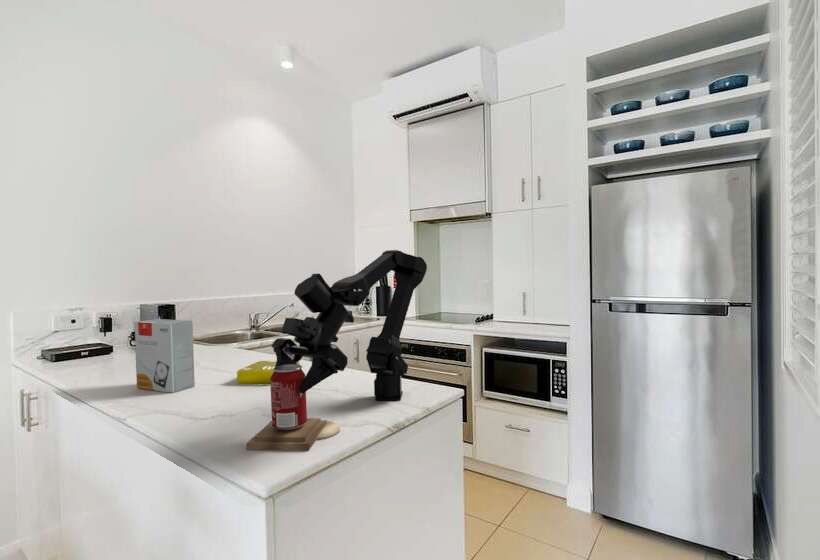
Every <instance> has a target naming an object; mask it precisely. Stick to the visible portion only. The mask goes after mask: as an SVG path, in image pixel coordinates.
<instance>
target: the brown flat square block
mask: <svg viewBox="0 0 820 560" xmlns="http://www.w3.org/2000/svg"><path fill="white" fill-rule="evenodd" d="M327 421H328V419H327V420H326V419H323V420H322V418H321V417H320V418H319V417H317V418H316V417H309V418H308V417H307V423H306V424H305V425H303V426H302V427H301V428H299V429H297V430H293V431H279V430H277V429H275V428H273V427H272V420H271V421H270V422H269V423H267V424H266V425H265V426H264V427H263V428H262V429H261V430H260V431H258V432H257V433H256V434H255V435H254V436H253V437H251V439H249V440H248V441H247V442H246V447H245V449H246V450H249V451H252V450H253V451H256V450H257V451H310V450H311V449H312V447H313V446H314V444H315V443H316V441H318V440H317V438H316V437H317V436H318V435H319V433H320V432H321V431H322V429H323V428H324V427H325V425H326V424H327Z"/></svg>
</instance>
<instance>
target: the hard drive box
mask: <svg viewBox="0 0 820 560" xmlns="http://www.w3.org/2000/svg"><path fill="white" fill-rule="evenodd" d="M133 324H134V344H135V346H134V348H135V371H136V372H135V373H136V389H140V390H141V389H142V390H146V391H147V390H148V391H154V392H155V391H157V392H160V393H161V392H162V393H170V394H174V393H177V392H180V391H184V390H187V389H190V388H193V387H195V386H196V385H195V382H196V381H195V363H194V362H195V359H194V358H195V357H194V355H195V354H194V332H193V331H194V329H193V327H194V326H193V320H185V319H184V320H183V319H165V318H163V319H162V318H154V319H149V320H148V319H147V320H139V321H134V322H133Z"/></svg>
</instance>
